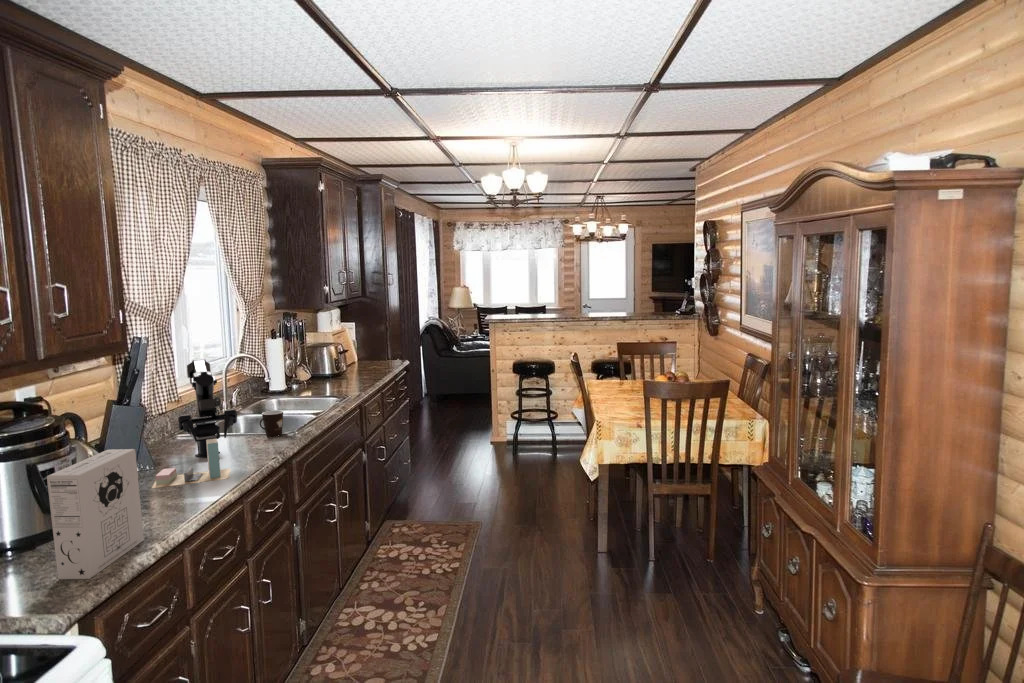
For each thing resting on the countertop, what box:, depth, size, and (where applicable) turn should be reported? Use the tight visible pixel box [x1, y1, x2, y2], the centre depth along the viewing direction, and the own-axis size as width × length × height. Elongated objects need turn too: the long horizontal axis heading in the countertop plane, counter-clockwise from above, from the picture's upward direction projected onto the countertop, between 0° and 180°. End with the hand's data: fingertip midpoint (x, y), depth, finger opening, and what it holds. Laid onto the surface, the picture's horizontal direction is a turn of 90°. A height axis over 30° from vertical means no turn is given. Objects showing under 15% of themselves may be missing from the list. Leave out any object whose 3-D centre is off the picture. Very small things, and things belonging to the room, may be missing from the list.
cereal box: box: [46, 448, 145, 580], centre depth 160 cm, size 22×8×25 cm, turn 178°
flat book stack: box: [155, 467, 178, 485], centre depth 218 cm, size 8×4×3 cm, turn 11°
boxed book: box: [206, 439, 221, 479], centre depth 222 cm, size 6×3×12 cm, turn 29°
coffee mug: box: [259, 409, 284, 438], centre depth 278 cm, size 12×9×10 cm
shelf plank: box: [151, 468, 232, 489], centre depth 220 cm, size 23×12×1 cm, turn 110°
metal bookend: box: [183, 466, 203, 482], centre depth 219 cm, size 7×4×3 cm, turn 11°
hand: (210, 439), depth 226 cm, fingers open, 9 cm apart
